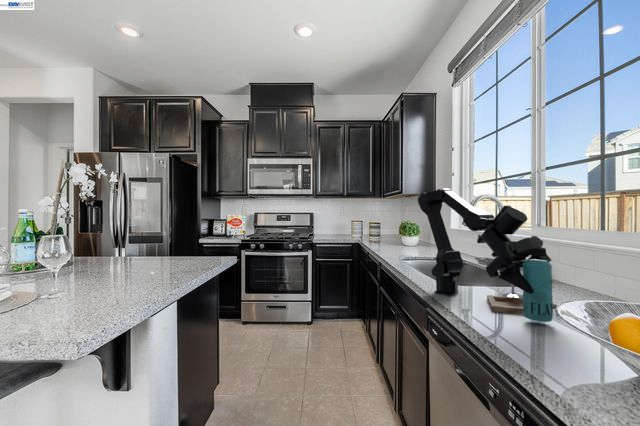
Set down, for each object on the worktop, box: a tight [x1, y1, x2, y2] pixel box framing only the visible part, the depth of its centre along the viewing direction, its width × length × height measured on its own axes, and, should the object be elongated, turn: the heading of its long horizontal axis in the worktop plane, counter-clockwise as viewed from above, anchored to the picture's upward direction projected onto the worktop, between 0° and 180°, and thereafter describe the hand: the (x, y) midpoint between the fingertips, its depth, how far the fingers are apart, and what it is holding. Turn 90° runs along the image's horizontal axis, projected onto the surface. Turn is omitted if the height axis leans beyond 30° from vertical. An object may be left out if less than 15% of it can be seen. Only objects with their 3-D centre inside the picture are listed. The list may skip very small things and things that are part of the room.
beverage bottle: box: [522, 246, 554, 323], centre depth 75 cm, size 6×7×20 cm
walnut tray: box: [486, 294, 523, 315], centre depth 88 cm, size 13×13×2 cm
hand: (541, 291), depth 74 cm, fingers closed on beverage bottle, 6 cm apart
